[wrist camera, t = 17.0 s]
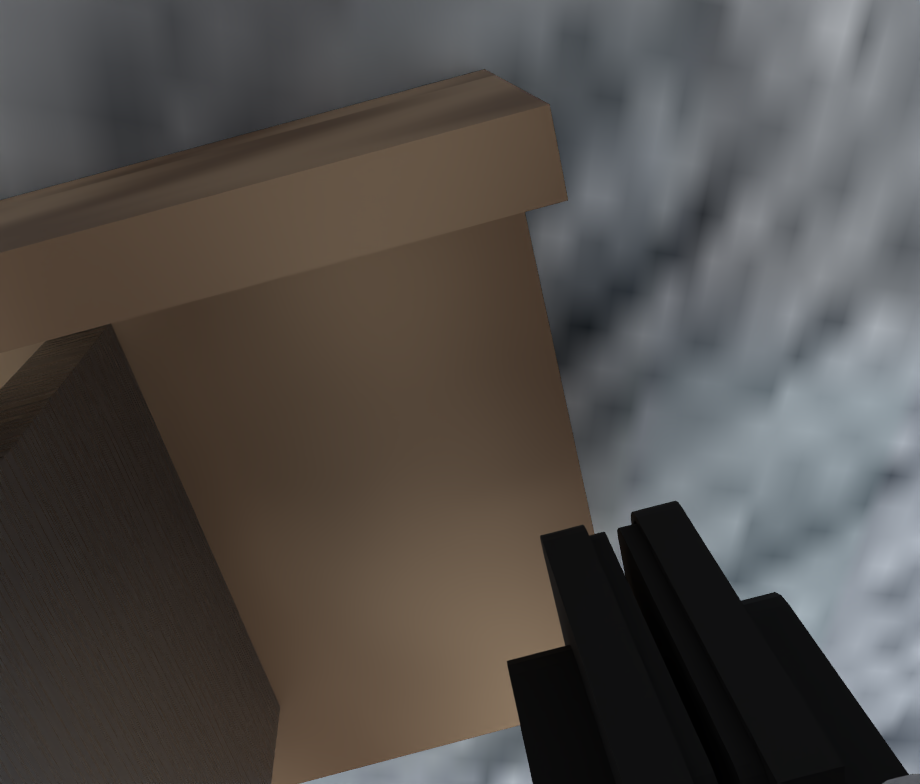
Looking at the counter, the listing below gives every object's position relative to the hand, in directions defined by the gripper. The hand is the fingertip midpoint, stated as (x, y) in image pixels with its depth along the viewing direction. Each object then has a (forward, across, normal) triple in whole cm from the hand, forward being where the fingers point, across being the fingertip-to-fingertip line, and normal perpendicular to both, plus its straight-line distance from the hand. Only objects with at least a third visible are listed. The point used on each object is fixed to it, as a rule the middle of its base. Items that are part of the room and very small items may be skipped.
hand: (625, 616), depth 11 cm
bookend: (+5, +7, 0) cm, 8 cm away
